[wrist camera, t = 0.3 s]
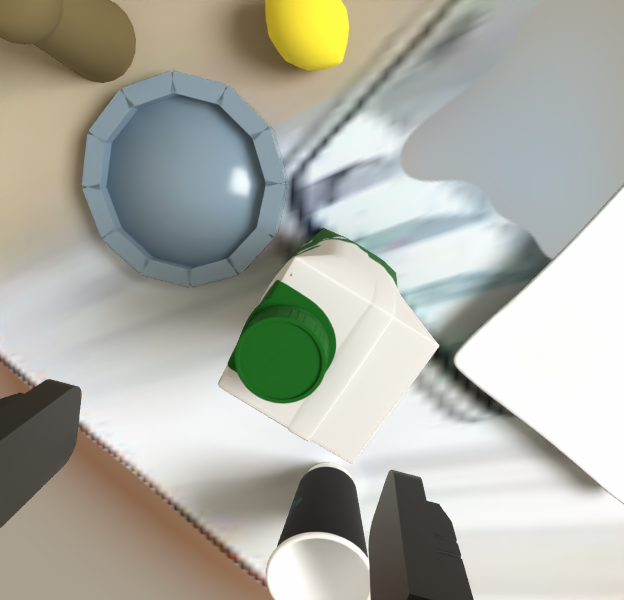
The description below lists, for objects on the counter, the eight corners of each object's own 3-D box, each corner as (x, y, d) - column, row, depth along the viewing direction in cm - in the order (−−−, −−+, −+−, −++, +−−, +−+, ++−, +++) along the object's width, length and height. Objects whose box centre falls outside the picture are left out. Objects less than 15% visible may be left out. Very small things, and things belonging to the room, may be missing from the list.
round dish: (108, 57, 36) (96, 51, 34) (306, 107, 36) (303, 103, 34) (85, 253, 40) (73, 257, 38) (262, 300, 40) (258, 306, 38)
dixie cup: (275, 458, 44) (249, 547, 33) (355, 438, 42) (355, 524, 32) (302, 527, 45) (286, 633, 35) (380, 510, 44) (388, 614, 33)
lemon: (364, 39, 35) (374, 23, 30) (314, 95, 36) (315, 88, 31) (297, -39, 33) (295, -70, 28) (247, 23, 34) (236, 4, 29)
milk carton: (319, 212, 38) (283, 244, 18) (412, 270, 38) (474, 360, 19) (267, 300, 40) (185, 411, 21) (355, 353, 40) (357, 511, 21)
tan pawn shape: (55, 69, 37) (-67, 23, 26) (68, -15, 35) (-57, -100, 24) (127, 92, 37) (34, 56, 26) (143, 10, 35) (51, -64, 24)
